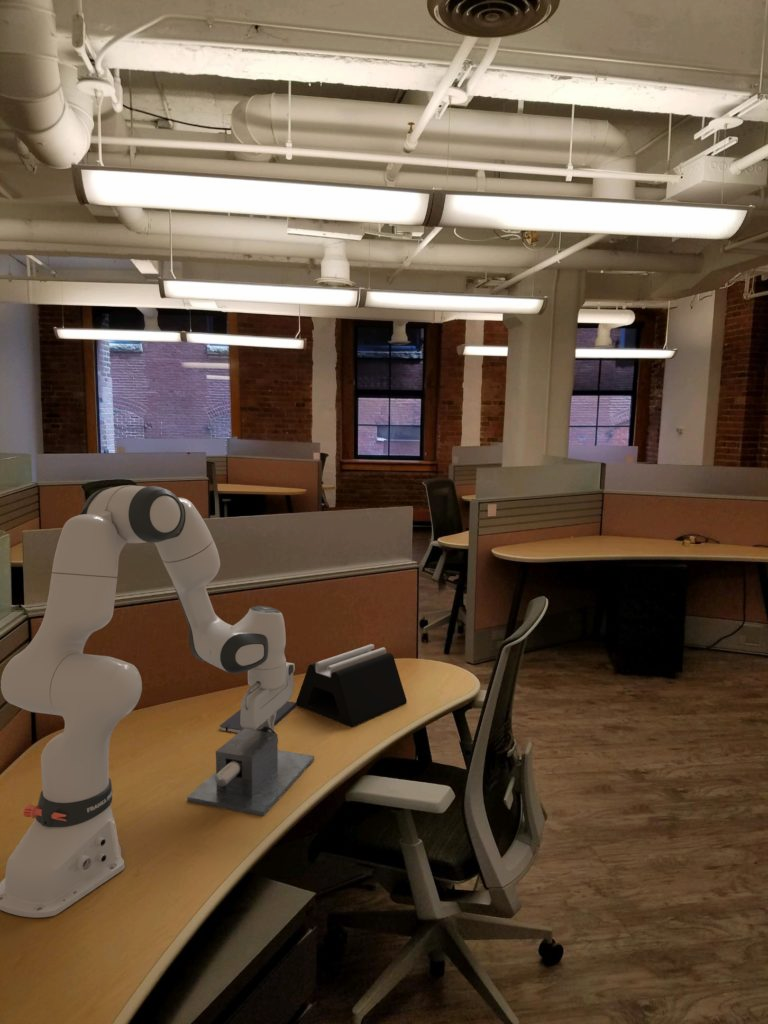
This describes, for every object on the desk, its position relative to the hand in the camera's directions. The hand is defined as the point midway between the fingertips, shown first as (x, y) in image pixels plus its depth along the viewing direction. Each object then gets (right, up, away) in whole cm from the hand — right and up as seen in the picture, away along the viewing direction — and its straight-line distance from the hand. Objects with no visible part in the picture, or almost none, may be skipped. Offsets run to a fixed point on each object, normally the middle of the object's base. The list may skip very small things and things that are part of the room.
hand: (268, 731), depth 166 cm
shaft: (-3, -6, -10) cm, 12 cm away
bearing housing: (-2, -9, -6) cm, 11 cm away
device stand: (+18, -4, +38) cm, 42 cm away
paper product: (-7, -6, +28) cm, 30 cm away
